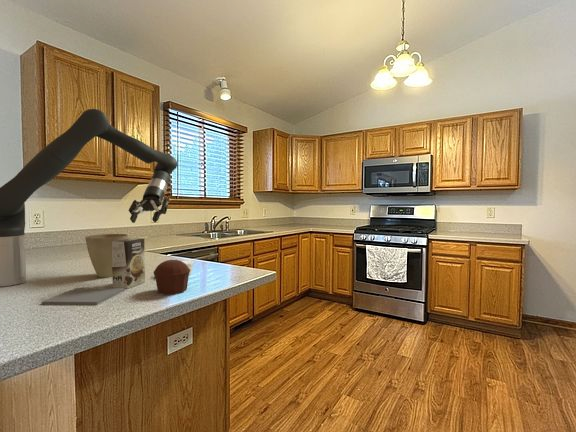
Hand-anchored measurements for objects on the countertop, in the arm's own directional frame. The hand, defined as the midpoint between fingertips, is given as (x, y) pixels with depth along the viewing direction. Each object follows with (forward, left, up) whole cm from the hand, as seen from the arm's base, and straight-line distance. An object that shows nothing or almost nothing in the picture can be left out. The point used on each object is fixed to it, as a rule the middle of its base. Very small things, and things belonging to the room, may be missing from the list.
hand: (143, 221), depth 118 cm
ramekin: (+12, +4, -22) cm, 26 cm away
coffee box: (0, -11, -22) cm, 25 cm away
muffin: (+18, -18, -22) cm, 34 cm away
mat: (-6, -25, -22) cm, 34 cm away
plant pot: (-16, +3, -22) cm, 27 cm away
